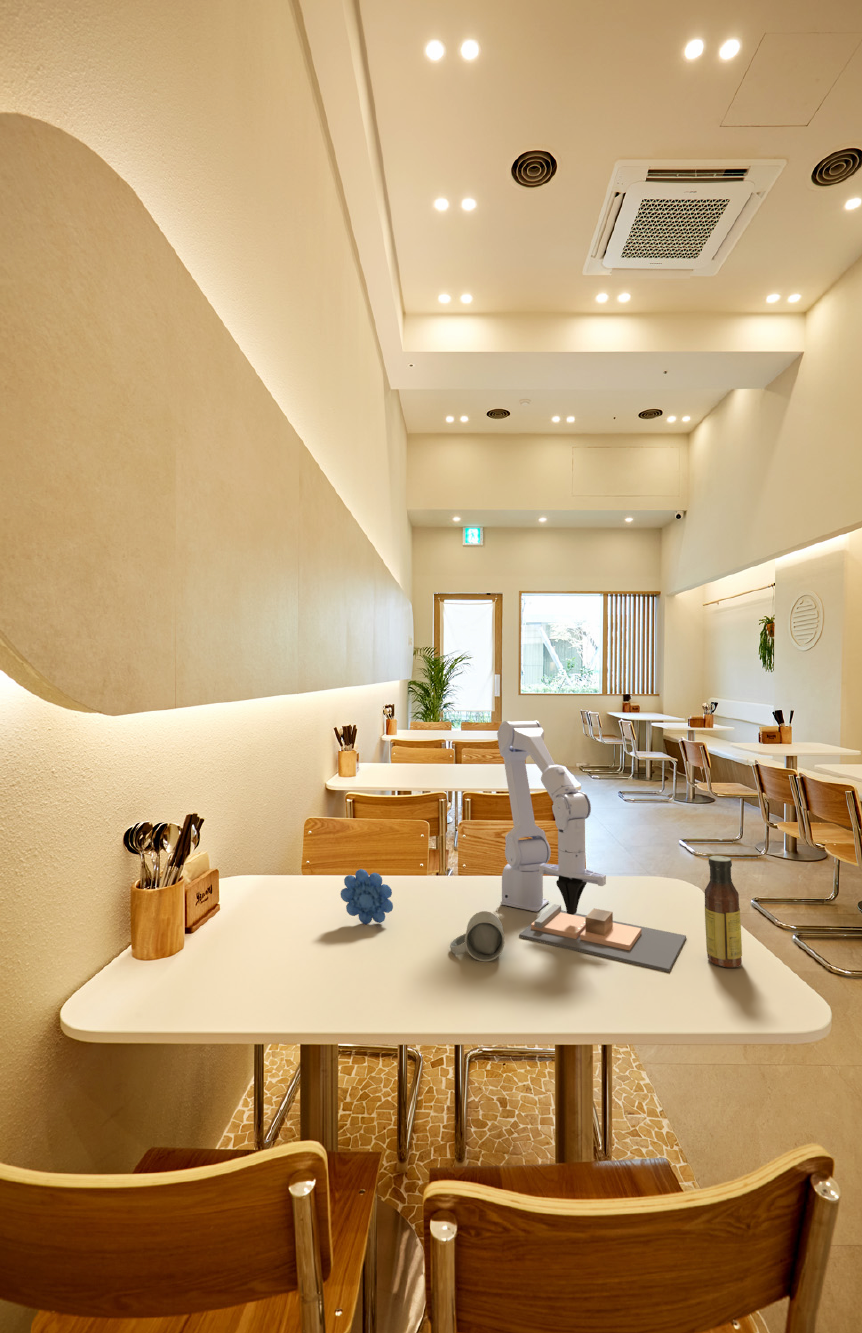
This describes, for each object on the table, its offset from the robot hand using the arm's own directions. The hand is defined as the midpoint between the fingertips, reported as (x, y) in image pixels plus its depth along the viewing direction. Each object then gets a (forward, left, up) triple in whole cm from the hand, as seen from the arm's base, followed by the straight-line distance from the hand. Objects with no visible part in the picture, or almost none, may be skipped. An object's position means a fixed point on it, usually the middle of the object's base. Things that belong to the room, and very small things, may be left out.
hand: (571, 913), depth 135 cm
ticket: (-2, 0, -4) cm, 5 cm away
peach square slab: (+8, 0, -4) cm, 9 cm away
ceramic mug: (-12, -20, -4) cm, 24 cm away
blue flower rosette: (-39, -21, -4) cm, 45 cm away
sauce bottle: (+30, +1, -4) cm, 30 cm away
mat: (+7, 0, -4) cm, 8 cm away
